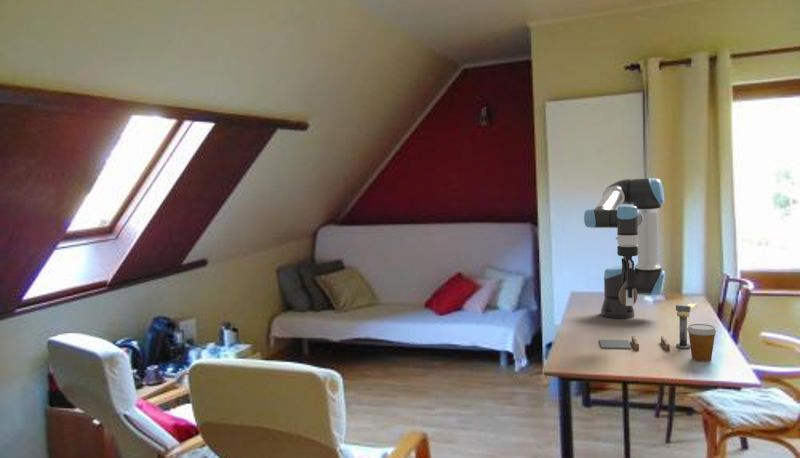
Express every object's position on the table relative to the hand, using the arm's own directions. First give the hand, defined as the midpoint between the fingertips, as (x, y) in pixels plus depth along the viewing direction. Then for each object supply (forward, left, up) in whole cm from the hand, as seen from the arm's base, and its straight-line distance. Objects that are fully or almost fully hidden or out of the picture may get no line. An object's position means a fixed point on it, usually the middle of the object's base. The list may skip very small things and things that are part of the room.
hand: (628, 303), depth 240 cm
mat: (0, -5, -17) cm, 18 cm away
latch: (-6, +23, -5) cm, 24 cm away
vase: (0, 0, -1) cm, 1 cm away
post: (+1, +20, -17) cm, 26 cm away
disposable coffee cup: (+16, +23, -17) cm, 33 cm away
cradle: (+1, +8, -17) cm, 19 cm away
